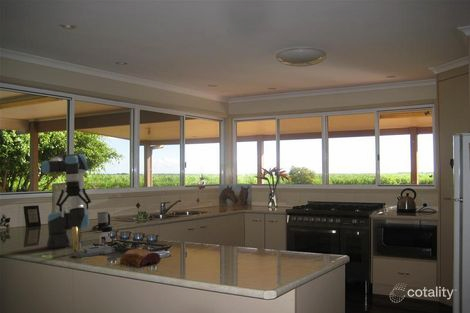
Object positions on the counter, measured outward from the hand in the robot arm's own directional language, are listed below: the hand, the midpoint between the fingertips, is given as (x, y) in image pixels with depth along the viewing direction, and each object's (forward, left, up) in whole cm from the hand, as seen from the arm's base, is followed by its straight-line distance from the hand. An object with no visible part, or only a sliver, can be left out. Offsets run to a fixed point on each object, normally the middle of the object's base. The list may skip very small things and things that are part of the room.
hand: (74, 215), depth 276 cm
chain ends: (+12, +8, -23) cm, 27 cm away
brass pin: (0, 0, -23) cm, 23 cm away
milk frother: (-104, +40, -23) cm, 114 cm away
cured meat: (+55, +21, -23) cm, 63 cm away
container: (-10, +22, -23) cm, 33 cm away
